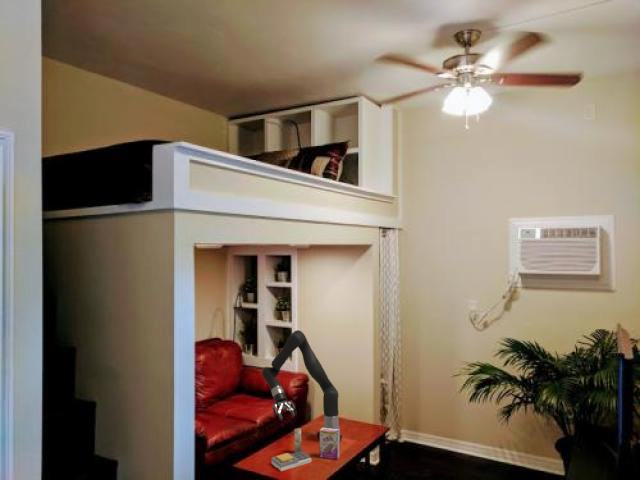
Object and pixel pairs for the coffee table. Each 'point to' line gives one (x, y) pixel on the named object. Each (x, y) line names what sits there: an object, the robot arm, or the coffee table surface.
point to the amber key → (284, 457)
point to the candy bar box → (329, 443)
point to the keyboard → (292, 461)
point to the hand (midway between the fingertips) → (287, 418)
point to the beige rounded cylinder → (297, 440)
